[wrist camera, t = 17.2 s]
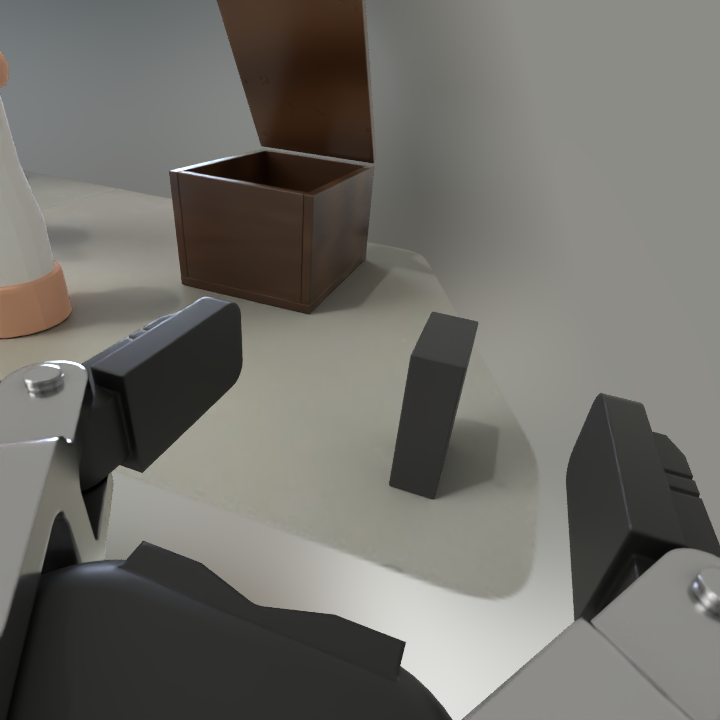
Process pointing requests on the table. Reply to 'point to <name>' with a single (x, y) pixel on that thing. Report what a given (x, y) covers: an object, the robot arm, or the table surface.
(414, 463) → the tall charcoal box
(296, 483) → the table surface
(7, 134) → the pepper shaker
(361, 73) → the lid
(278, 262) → the chest
